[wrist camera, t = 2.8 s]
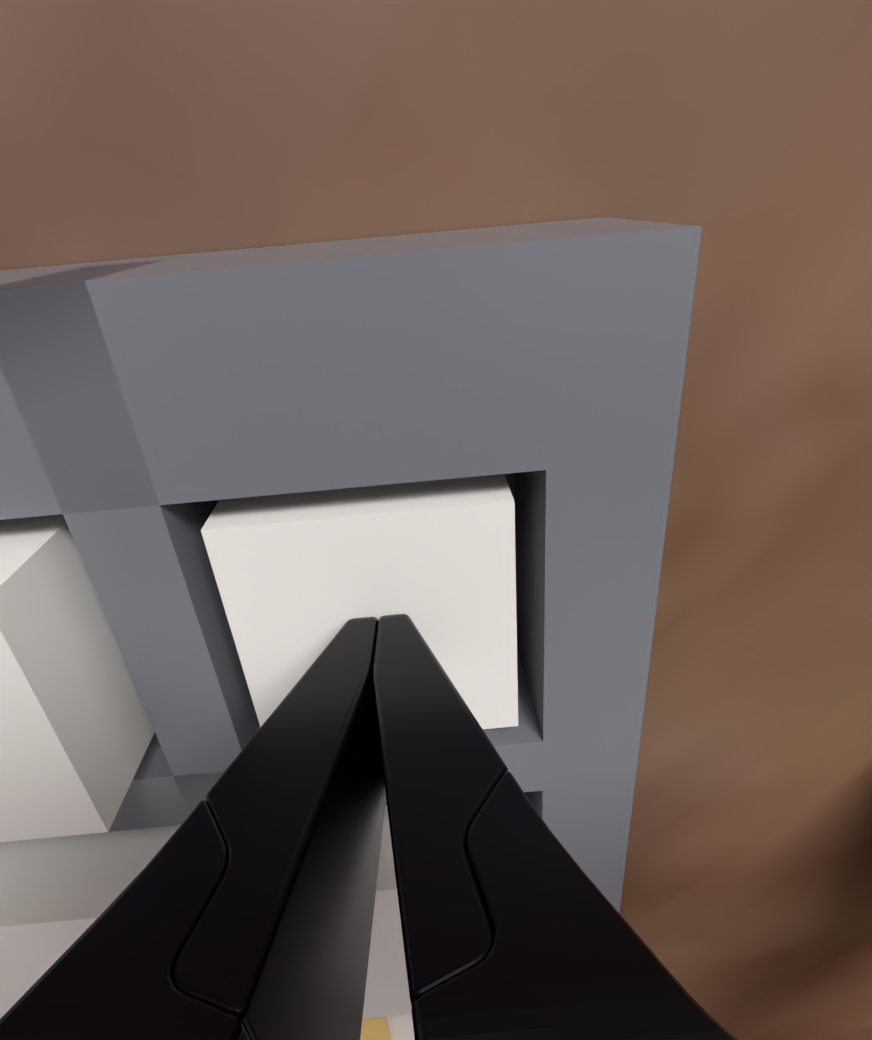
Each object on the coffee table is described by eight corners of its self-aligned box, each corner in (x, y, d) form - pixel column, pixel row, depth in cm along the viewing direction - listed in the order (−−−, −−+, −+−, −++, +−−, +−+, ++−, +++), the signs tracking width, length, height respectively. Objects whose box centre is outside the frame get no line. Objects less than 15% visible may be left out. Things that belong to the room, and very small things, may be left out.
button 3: (489, 433, 10) (514, 501, 8) (496, 627, 12) (518, 726, 10) (245, 455, 10) (200, 530, 8) (293, 645, 12) (266, 749, 10)
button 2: (199, 776, 12) (150, 913, 9) (246, 896, 13) (215, 1033, 11) (-9, 796, 12) (-105, 937, 9) (68, 913, 13) (2, 1054, 11)
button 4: (508, 748, 12) (532, 876, 9) (511, 871, 14) (532, 1002, 11) (302, 767, 12) (279, 900, 9) (334, 888, 13) (321, 1023, 11)
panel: (603, 217, 9) (717, 227, 6) (567, 929, 19) (604, 1090, 15) (-304, 297, 9) (-716, 355, 6) (121, 972, 19) (59, 1143, 15)
